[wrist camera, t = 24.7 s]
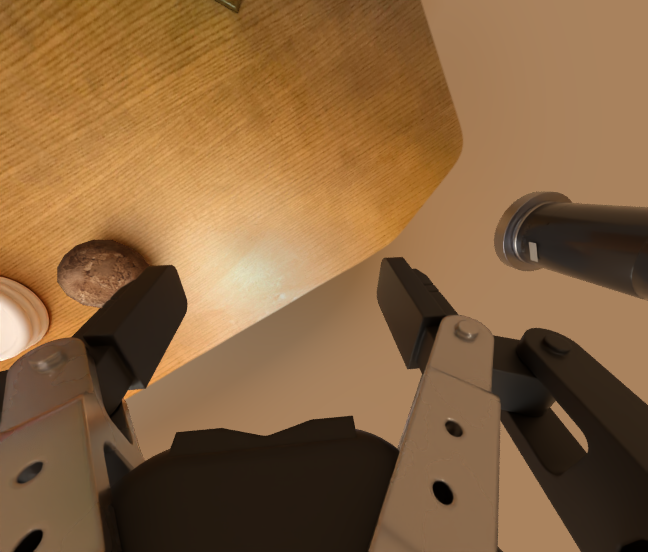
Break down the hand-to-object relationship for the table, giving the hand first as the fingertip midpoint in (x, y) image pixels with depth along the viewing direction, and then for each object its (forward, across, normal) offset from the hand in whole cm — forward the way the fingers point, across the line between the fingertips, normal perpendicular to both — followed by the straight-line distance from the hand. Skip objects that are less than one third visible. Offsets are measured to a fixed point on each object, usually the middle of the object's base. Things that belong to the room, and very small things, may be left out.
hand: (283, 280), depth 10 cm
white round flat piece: (+19, +36, +15) cm, 43 cm away
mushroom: (+21, +21, +11) cm, 31 cm away
